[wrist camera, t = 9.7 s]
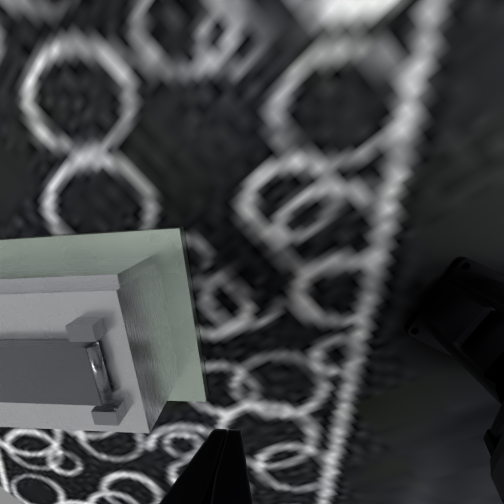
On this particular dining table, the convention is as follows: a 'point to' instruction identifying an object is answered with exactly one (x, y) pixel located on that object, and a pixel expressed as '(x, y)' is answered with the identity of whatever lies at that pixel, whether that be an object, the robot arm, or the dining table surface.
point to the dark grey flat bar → (53, 372)
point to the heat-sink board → (107, 321)
